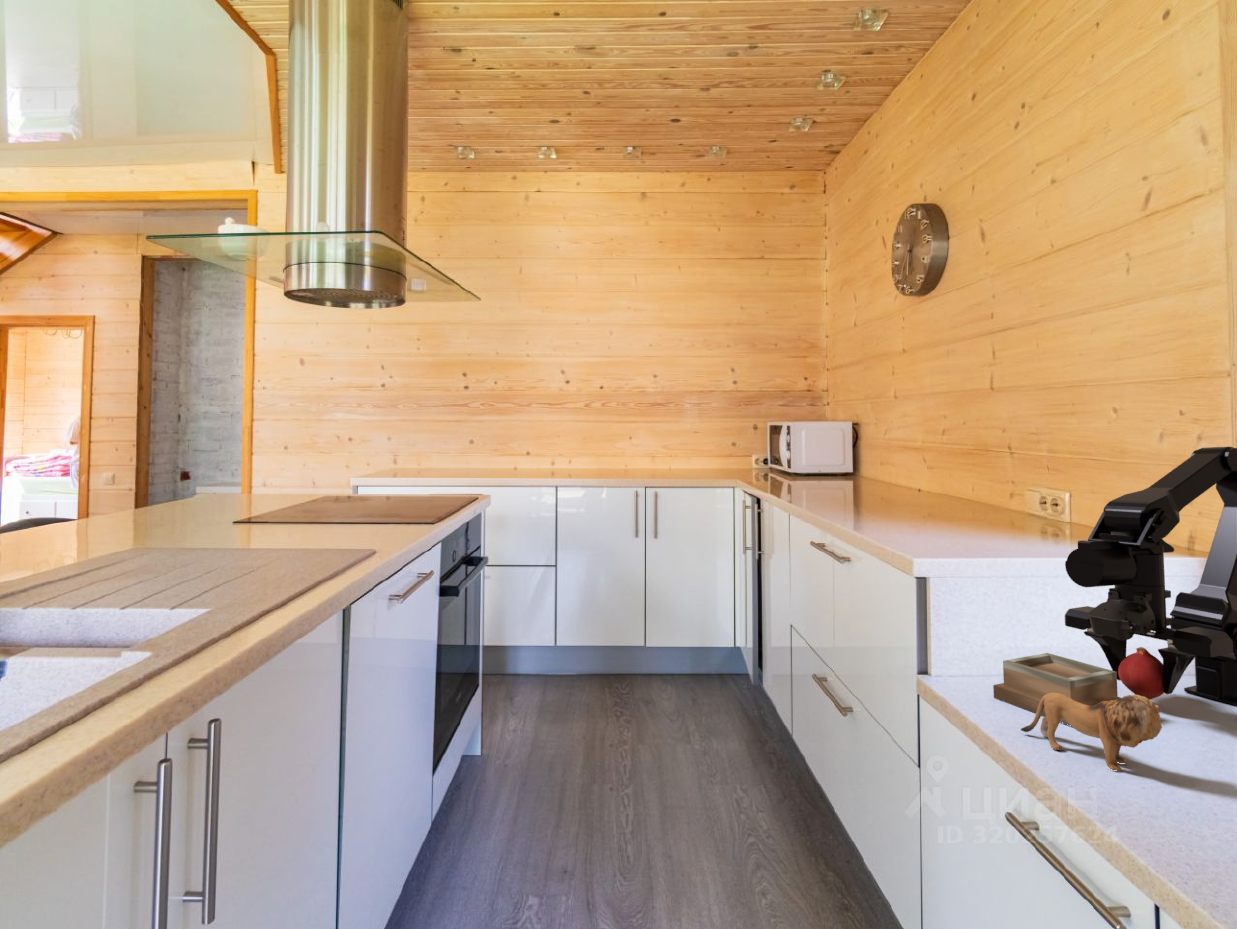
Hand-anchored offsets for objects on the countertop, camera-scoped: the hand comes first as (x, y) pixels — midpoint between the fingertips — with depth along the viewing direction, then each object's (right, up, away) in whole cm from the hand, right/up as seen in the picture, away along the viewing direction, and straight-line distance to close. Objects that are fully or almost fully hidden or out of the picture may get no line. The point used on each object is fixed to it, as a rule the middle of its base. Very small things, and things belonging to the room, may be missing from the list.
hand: (1143, 686), depth 88 cm
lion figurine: (-19, -4, -14) cm, 24 cm away
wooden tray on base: (-12, -3, +1) cm, 12 cm away
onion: (0, -2, 0) cm, 2 cm away
